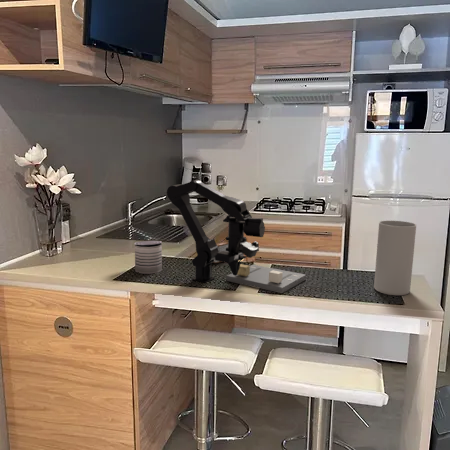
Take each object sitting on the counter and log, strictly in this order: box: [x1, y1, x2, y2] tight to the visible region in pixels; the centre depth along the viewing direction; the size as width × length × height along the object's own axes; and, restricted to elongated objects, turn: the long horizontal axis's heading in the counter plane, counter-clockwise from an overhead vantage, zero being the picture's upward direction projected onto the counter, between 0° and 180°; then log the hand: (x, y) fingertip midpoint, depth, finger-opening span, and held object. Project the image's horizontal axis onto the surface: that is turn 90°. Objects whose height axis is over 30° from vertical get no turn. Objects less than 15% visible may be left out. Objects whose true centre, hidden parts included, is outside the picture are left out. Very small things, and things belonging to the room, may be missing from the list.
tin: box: [212, 241, 229, 264], centre depth 205 cm, size 15×3×8 cm, turn 141°
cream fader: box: [269, 270, 283, 283], centre depth 170 cm, size 3×4×4 cm
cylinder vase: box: [373, 220, 417, 296], centre depth 168 cm, size 12×12×25 cm
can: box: [133, 240, 163, 275], centre depth 190 cm, size 11×11×12 cm
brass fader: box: [237, 263, 251, 276], centre depth 178 cm, size 3×4×4 cm
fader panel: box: [226, 264, 307, 294], centre depth 179 cm, size 20×24×2 cm
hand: (235, 275), depth 173 cm, fingers closed
